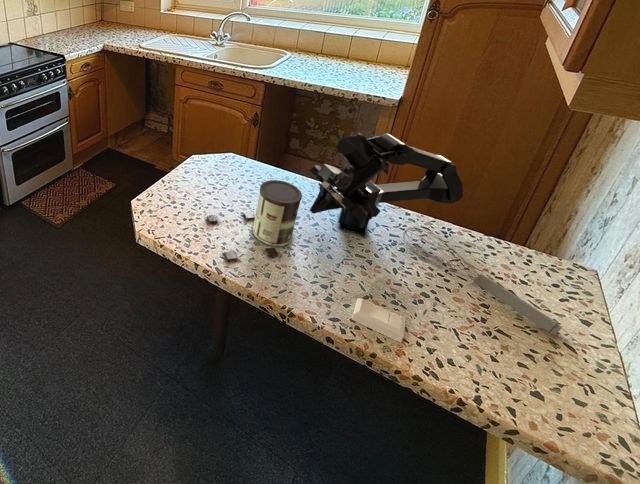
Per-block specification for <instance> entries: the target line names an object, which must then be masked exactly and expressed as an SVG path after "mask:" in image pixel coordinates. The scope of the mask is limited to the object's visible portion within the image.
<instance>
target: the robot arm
mask: <svg viewBox="0 0 640 484" xmlns="http://www.w3.org/2000/svg"><path fill="white" fill-rule="evenodd" d="M336 151H337V152H338V153H339V155H340V156H341V157H343V159H345V161H346V162H347V163H348V164H349V166H348V167H347V166H346V165H343V166H341V167H339V168H337V167H336V166H334V165H333V166H332V165H330V164H327V163H323V165H322V166H320V165H314V166H312V167H311V168H310V169H309V172H310V173H311V174H312V175H313V176H314V177H315V178H317V180H318V181H319V182H318V184H317V185H318V186H319V191H318V195H317V196H316V198H315V200H314V202H313V204H312V205H311V207H310V208H309V212H311V213H312V214H318V213H322V212H326V211H331V210H337V209H340V211H339V215H338V219H337V220H338V223H339V229H340V230H344V231H347V232H352V233H354V234H359V235H362V236H366V235H367V228H368V225H369V222H370V220H372V219H373V218H377V217H378V215H379V214H380V213H381V210H380V208H379V207H378V205H379V204H382V203H393V202H405V201H417V200H428V201H432V202H436V203H438V204H446V205H447V204H454V203H457V202H459V201H461V199H462V198H463V196H464V185H463V182H462V180H461V178H460V176H459V174H458V172H457V166H456V164H455V162H452V161H451V160H449V159H448V158H446V157H444V156H443V155H440V154H435V153H432V152H428V151H425V150H423V149H419V148H417V147H413V146H409V145H407V143H405V142H403V141H401V140H399V139H398V138H397V137H395V136H393V135H391V134H390V133H382V135H379V136H378V135H377V136H374V137H369V138H366V137H365V136H364V135H363V134H362V133H360V132H358V133H357V134H356V135H348V136H345V137H342V138H341V139H340V140H339V141H338V142H337V145H336ZM406 164H407V165H408V164H409V165H412V166H416V167H419V168H423V169H425V172H424V177H423V178H422V179H421V180H415V181H403V182H402V181H401V182H389V183H380V184H375V183H374V182H372V179H374V178H375V177H376V176H377V175H379V174H380V173H383V174H385V175H388V174H389V173H390V172H389V171H390V170H389V167H390V165H396V166H397V165H398V166H404V165H406Z"/></svg>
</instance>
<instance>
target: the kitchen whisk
mask: <svg viewBox="0 0 640 484" xmlns="http://www.w3.org/2000/svg"><path fill="white" fill-rule="evenodd" d="M410 230H412V231H416V232H418V233H419V234H421V235H423V236H425V237H426V238H427V239H429V240H430V241H432V242H434V243H435V244H436V245H438V246H439V247H441V248H442V249H443V250H445V251H446V252H447V253H448V254H450V255H451V256H452V257H451V256H450V255H448V254H447V253H445V252H444V251H442V250H441V249H439V248H438V247H437V246H435V245H434V244H432V243H430V242H429V241H427V240H426V239H424V238H422V236H420V235H417V234H416V233H414V232H411V231H410ZM420 231H423V232H424V233H426V234H428V235H431V236H432V237H433V238H435V239H437V240H438V241H440V242H441V244H443V245H445V246H446V247H447V248H448V249H450V250H451V251H452V252H453V253H454V254H455V255H457V257H456V256H455V255H454V254H452V253H451V252H450V251H449V250H447V249H446V248H444V247H443V246H442V245H440V244H439V243H438V242H436V241H435V240H433V239H432V238H431V237H429V236H427V235H426V234H424V233H422V232H420ZM408 233H411V234H413V235H415V236H416V237H419V238H420V239H422V240H423V241H425V242H426V243H429V244H430V245H431V246H432V247H434V248H435V249H438V250H439V251H440V252H441V253H443V254H444V255H446V256H447V257H449V258H450V259H452V260H453V261H454V262H456V263H457V264H458V265H460V266H461V267H462V268H461V267H459V266H458V265H455V264H454V263H452V262H451V261H449V260H447V259H446V258H444V257H443V256H440V255H439V254H437V253H436V252H435V251H433V250H431V249H430V248H428V247H426V246H425V245H423V244H422V243H420V242H418V241H417V240H415V239H414V238H413V237H412V236H410V235H409V234H408ZM405 235H406V237H407V238H408V240H409V241H410V242H412V241H414V242H416V243H418V244H419V245H421V246H422V247H424V248H426V250H428V251H430V252H432V253H433V254H435V255H436V256H438V257H440V258H441V259H442V260H441V259H439V258H437V257H435V256H433V255H432V254H430V253H429V252H427V251H425V250H424V249H422V248H421V247H420V246H418V245H417V244H416V243H414V245H415V246H416V247H417V248H419V249H420V250H422V251H423V252H425V253H426V254H427V255H429V256H431V257H433V258H434V259H437V260H438V261H439V262H441V263H444V264H441V263H439V262H437V261H435V260H433V259H431V258H429V257H427V256H426V255H424V254H422V253H421V252H419V251H417V250H416V249H414V248H413V247H412V246H411V245H410V244H409V243H408V242H407V241H406V239H405ZM410 238H411V239H410ZM402 239H403V241H404V242H405V244H406V245H407V246H408V247H409V248H410V249H411V250H412V251H413V252H414V253H416V254H417V255H419V256H420V257H422V258H423V259H425V260H427V261H429V262H431V263H433V264H435V265H437V266H439V267H442V268H443V269H445V270H448V271H450V272H453V273H455V274H457V275H459V276H462V277H465V278H468V279H470V280H473V283H474V284H475V285H477V286H478V287H480V288H481V289H483V290H484V291H485V292H487V293H488V294H491V296H493V297H495V298H496V299H498V300H499V301H500V302H502V303H504V304H506V305H507V306H508V307H510V308H511V309H513V310H514V311H515V312H517V313H519V314H520V315H522V316H523V317H525V318H526V319H528V320H530V321H531V322H532V323H534V324H535V325H536V326H538V327H539V328H541V329H543V330H545V331H546V332H547V333H550V334H551V335H553V336H559V337H560V338H562V339H565V340H566V341H569V342H573V341H574V337H572V336H571V334H570V333H569V332H568V331H566V330H565V329H563V326H562V325H560V324H559V323H558V322H557V321H556V320H555V319H553V318H551V317H550V316H548V315H546V314H545V313H543V312H542V311H541V310H539V309H537V308H536V307H534V306H533V305H531V304H530V303H528V302H526V301H525V300H523V298H521V297H519V296H517V295H516V294H513V293H512V292H511V291H509V290H508V289H506V288H505V287H504V286H501V285H500V284H498V283H497V282H495V281H494V280H492V279H490V278H489V277H488V276H486V275H485V274H483V273H480V274H479V273H478V272H477V271H476V270H475V269H474V268H473V266H471V265H470V263H469V262H468V261H467V260H466V259H464V257H462V256H461V255H460V253H458V252H457V251H456V250H455V248H453V247H451V245H450V244H448V243H446V242H445V241H444V240H443V239H442V238H441V237H439V236H437V235H436V234H435V233H433V232H431V231H430V230H428V229H426V228H424V227H421V226H414V227H413V226H410V227H408V228H407V229H405V230H404V231H403V233H402ZM453 257H454V258H453ZM458 257H459V258H460V259H461V260H462V261H463V262H464V263H463V262H462V261H461V260H460V259H458ZM455 259H456V260H455ZM443 260H445V261H446V262H448V263H449V264H451V265H449V264H448V263H446V262H444V261H443ZM458 261H459V262H458ZM445 265H446V266H445ZM447 266H448V267H447ZM453 266H454V267H453ZM455 267H457V268H458V269H457V268H455ZM463 268H464V269H465V270H464V269H463ZM459 269H460V270H459ZM466 270H467V271H466ZM561 330H562V331H563V332H564V333H566V334H567V335H568V336H569V337H570V338H571V339H569V338H566V337H564V336H562V335H560V334H558V333H559V332H560V331H561Z"/></svg>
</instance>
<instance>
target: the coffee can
mask: <svg viewBox="0 0 640 484" xmlns="http://www.w3.org/2000/svg"><path fill="white" fill-rule="evenodd" d="M302 193H303V192H302V191H301V190H300V188H298V187H297V186H296V185H294V184H292V183H290V182H287V181H283V180H279V179H278V180H277V179H271V180H270V179H269V180H266V181H264V182H262V183H261V184H260V186H259V194H258V200H257V205H256V211H255V215H254V217H255V220H253V221H254V222H253V227H252V233H253V235H254V236H255V238H256V239H257V240H258V241H260V242H262V243H264V244H266V245H268V246H272V247H285V246H286V245H289V244H290V243H291V241H292V238H293V234H294V228H295V224H296V220H297V216H298V214H299V213H298V212H299V208H300V204H301V201H302V199H303V194H302Z"/></svg>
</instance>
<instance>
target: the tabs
mask: <svg viewBox="0 0 640 484" xmlns="http://www.w3.org/2000/svg"><path fill="white" fill-rule="evenodd" d="M243 217H244V218H245V220H246V221H255V215H254V213H253V212H252V211H251V212H249V211H247V212H243ZM206 219H207V221H208V224H218V222H219V221H218V220H219V219H217V216H216V215H207V216H206ZM264 252H265V253H266V254H267V256H268V257H269V258H276V257H277V258H278V257H279V252H278V251H277V250H276V247H265V249H264ZM223 255H224V257H225V259H226V262H236V261H237V260H238V258H237V255H236V253H235V252H234V251H225V252H224V254H223Z"/></svg>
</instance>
